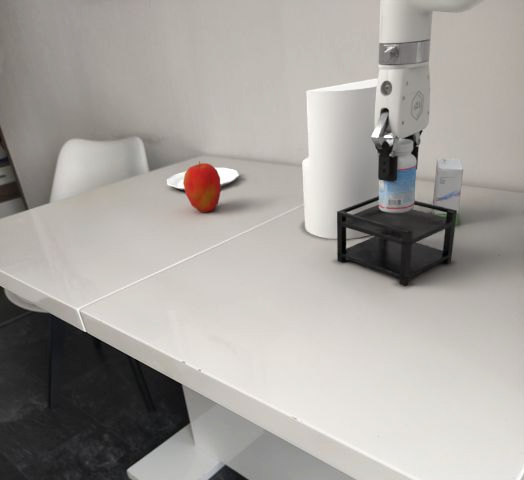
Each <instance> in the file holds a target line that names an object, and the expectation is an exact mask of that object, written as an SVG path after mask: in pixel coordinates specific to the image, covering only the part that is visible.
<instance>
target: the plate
mask: <svg viewBox="0 0 524 480" xmlns="http://www.w3.org/2000/svg"><path fill="white" fill-rule="evenodd" d="M214 168H215V169H216V170H217V172H218V174H219V176H220V186H221V187H224V186H226V185H228V184H230V183H232V182H234V181H235V180H236V179H237V178H239V177H240V173H239V172H238V170H237V169H232V168H228V167H214ZM186 171H187V170H186ZM186 171H182V172H178V173H176V174H172V176H170V177H168V178H167V179H166V185H167V186H168V187H171V188H175V189H178V190H181V191H185V188H184V184H183V182H184V176H185V173H186Z"/></svg>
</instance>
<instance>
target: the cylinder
mask: <svg viewBox="0 0 524 480" xmlns="http://www.w3.org/2000/svg"><path fill="white" fill-rule="evenodd" d="M377 82H378V77H375V78H371V79H365V80H359V81H354V82H347V83H343V84H337V85H330V86H324V87H319V88H314V89H309V90H305V92H306V93H305V95H306V96H305V97H306V121H307V122H306V123H307V146H308V149H307V151H308V156H307V157H305V158H304V159H303V160H302V162H301V168H302V189H303V190H302V191H303V192H302V193H303V194H302V195H303V211H304V212H303V214H304V217H303V218H304V229H305V230H306V232H308V233H309V234H310V235H312V236H316V237H318V238H324V239H329V240H330V239H331V240H332V239H333V240H337V211H340V210H343V209H345V208H348V207H351V206H353V205H356V204H359V203H361V202H364V201H367V200H369V199H372V198H375V197H377V196H379V179H378V164H379V156H378V155H377V149H376V147H375V144H374V143H373V141H372V139H371V137H372V134H373V132H374V130H375V101H376V90H377ZM387 135H389V134H387ZM386 141H389V140H386ZM376 205H379V200H378V201H375V202H373V203H370V204H367V205H365V206H362V207H360V208H357V209H354V210H352V211H349V212H346V213H349V214H352V215H353V214H356V213H358V212H361V211H363V210H366V209H369V208H371V207H374V206H376ZM368 236H370V235H369V234H366V233H362V232H359V231H356V230H353V229H349V228H346V240H350V239H351V240H353V239H358V238H363V237H368Z"/></svg>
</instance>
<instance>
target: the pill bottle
mask: <svg viewBox="0 0 524 480" xmlns="http://www.w3.org/2000/svg"><path fill="white" fill-rule="evenodd" d="M387 142H388V144H389V145H390V147H391V143H392V140H388V141H387ZM412 149H413V141H412V140H409V139H402V138H399V141H398V145H397V150H396V154H395V156H398V163H397V180H396V181H394V182H391V181H383V180H379V209H380V210H381V211H383V212H387V213H404V212H407V211H409V210H411V209H414V207H415V205H414V200H415V198H416V180H417V179H416V178H417V170H416V165H417V161H416V158H415V156H414V155H412V154H411V152H412V151H413V150H412ZM417 166H418V165H417Z"/></svg>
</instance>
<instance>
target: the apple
mask: <svg viewBox="0 0 524 480" xmlns="http://www.w3.org/2000/svg"><path fill="white" fill-rule="evenodd" d="M215 168H216V167H214V166H213V165H212V164H210V163H205V162H203V163H201V161H199V163H198V164H195V165H192V166H190V167H189V168H187V170H186V173H185V176H184V182H183V184H184V188H185V190H184V192H185V195H186V197H187V200H188V202H189V203H190V205H191V207H193V208H194V209H195V210H198V211H199V212H201V213H208V212H212V211H214V209H215V208H216V206H217V205H218V204H219V201H220V197H221V193H222V192H221V191H222V189H221V188H222V186H220V176H219V174H218V172H217V170H216V169H215Z"/></svg>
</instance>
